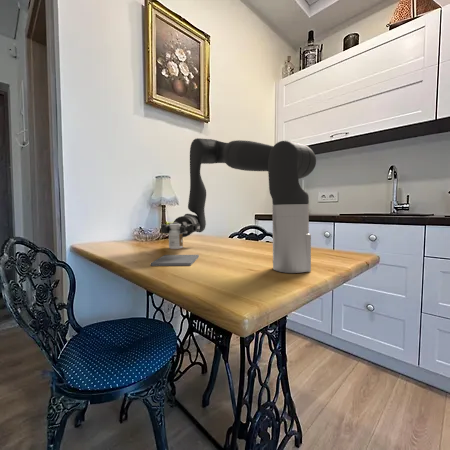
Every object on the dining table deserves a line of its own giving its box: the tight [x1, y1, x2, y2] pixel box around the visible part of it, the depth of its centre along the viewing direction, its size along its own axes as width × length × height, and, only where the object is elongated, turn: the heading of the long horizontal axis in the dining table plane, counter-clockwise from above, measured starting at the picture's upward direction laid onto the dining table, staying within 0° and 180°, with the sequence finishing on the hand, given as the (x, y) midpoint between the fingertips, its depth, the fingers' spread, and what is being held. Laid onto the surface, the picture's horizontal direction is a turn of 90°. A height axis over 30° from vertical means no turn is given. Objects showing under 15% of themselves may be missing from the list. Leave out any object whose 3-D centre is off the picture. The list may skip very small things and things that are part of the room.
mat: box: [150, 254, 200, 267], centre depth 83 cm, size 12×14×1 cm
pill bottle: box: [168, 223, 184, 250], centre depth 83 cm, size 4×4×8 cm
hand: (173, 230), depth 80 cm, fingers closed on pill bottle, 4 cm apart
